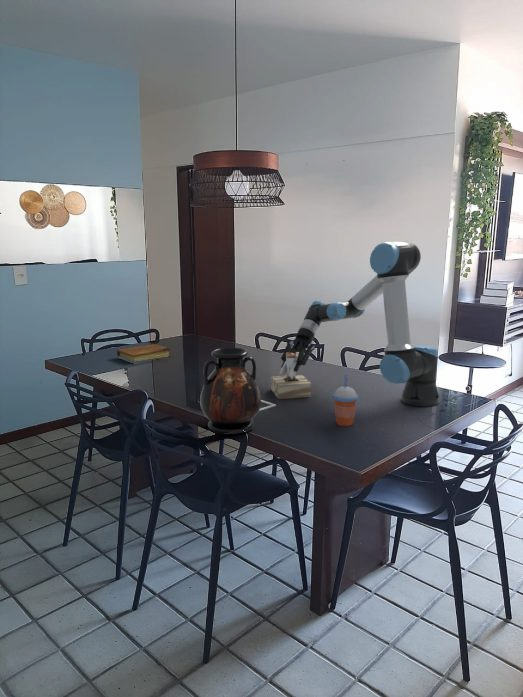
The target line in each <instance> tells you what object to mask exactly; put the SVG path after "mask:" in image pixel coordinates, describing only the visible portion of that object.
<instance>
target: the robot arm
mask: <svg viewBox="0 0 523 697" xmlns="http://www.w3.org/2000/svg"><path fill="white" fill-rule="evenodd" d="M421 258H422V256H421V251H420V249H419V247H418V246H417V245H416V244H415V243H413V242H410V241H386V242H381V243H379V244H377V245H376V246H375V247H374V248H373V250H372V251H371V253H370V257H369V265H370V268H371V269H372V270H373V272H374V273H376V275H375V276H374V277H373V278H372V279H371V280H370V281H368V282H367V283H366V284H365V285H364V286H363V287H362V288H360V290H358V292H356V293H355V294H354V295H353V296H352V297H351V298H350V299H349V300H348V301H341V302H340V301H339V302H332V303H327V304H326V303H325V302H323V301H319V300H315V301H312V303H311V305H310V306H309V308H308V311H307V312H306V314H305V316H304V318H303V320H302V322H301V324H300V326H299V329H298V330H297V333H296V334H295V338H294V339H293V340H292V341H291V340H288V341H287V342H286V346H285V349H284V350H283V352H282V355H281V357H280V359H281V360H282V364H281V366H280V368H281V369H280V371H279V373H278V374H279V376H281V377H284V376H286V353H287V352H295V353H296V354H297V353H298V354H297V355H298V356H297V357H296V358H297V359H296V363H294V364H293V366H292V369H291V371H290V373H289V375H288V376H289V377H290V378H291V379H292V378H293V376H294V374H295V375H296V373H297V372H298V371H299V369H300V367H301V366H306V365H307V362H308V360H309V358H310V356H311V354H312V352H313V351H314V350H315V349H316V347H315V345H314V343H312V342H313V341H314V338H315V335H316V334H317V332H318V330H319V328H320V325H321V324H322V323H326V322H333V321H334V322H335V321H339V320H340V321H342V320H345V319H354V318H358V317H362V315H364V313H365V309H366V308H367V307H369V306H370V305H371V304H372V303H373V302H374V301H376V300H377V299H378V298H379V297H380V296H382V297H383V298H382V299H383V308H384V320H385V330H386V339H387V345H386V346H385V348H384V350H383V351H384V356H383V357H382V358H381V360H380V362H379V371H380V373H381V376H382V377H383V378H384V379H385V380H386V381H387V382H389V384H390V383H391V384H395V385H396V384H397V385H399V384H404V386H403V389H402V392H401V393H400V401H401V402H402V403H404V404H407V405H410V406H417V407H433V406H436V405H439V403H440V393H439V390H438V388H437V370H438V368H437V367H438V359H439V357H438V349H437V348H436V347H433V346H429V345H421V344H413V343H412V342H411V334H410V332H411V331H410V322H409V311H408V310H409V309H408V300H407V286H406V280H407V278H408V277H409V275H410V274H412V272H414V271H415V270H416V269H417V268H418V266H419V264H420V263H421Z"/></svg>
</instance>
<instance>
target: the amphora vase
mask: <svg viewBox="0 0 523 697" xmlns="http://www.w3.org/2000/svg"><path fill="white" fill-rule="evenodd" d="M210 354H211V356H212V357H213V358H215V359H216V361H215V360H213V359H210V360H208V361H206V362H205V363H204V366H203V372H202V374H203V386H202V387H201V388H202V389H201V391H200V395H199V396H200V397H199V404H200V405H199V406H200V408H201V411H202V413H203V415H204V416H205V418H207V420H209V421H208V423H207V427H208V429H209V430H210V431H211V432H213V433H216V434H219V435H224V433H229V432H231V431H235V430H244V431H246V432H245V433H249V431H251V430H252V429H253V428H254V427H255V422H254V418H255V417H256V416H257V415H258V413H259V412H260V411H259V409H261V408H262V407H261V404H262V402H261V400H262V396H261V390H260V388H259V386H258V384H257V365H256V364H257V363H256V361H255V359H254V357H252V356H248V355H249V351H248V350H247V349H245V348H240V347H221V348H216V349H214V350H212V351H211V353H210ZM248 361H250V363H251V367H252V368H251V373H250V372H249V371H248V370H247V369H246V363H247V362H248ZM210 365H214V369H213V371H212V372H211V373H210V374H209V375H208V370H209V367H210Z"/></svg>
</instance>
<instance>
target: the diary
mask: <svg viewBox="0 0 523 697" xmlns="http://www.w3.org/2000/svg"><path fill="white" fill-rule="evenodd" d="M170 351H171V348H170V347H166V346H163V345H159V344H156V343H150V344H145V345H138V346H133V347H126V348H122V349H121V348H120V349H117V350H116V356H120V357H123V358H126V359H129V360H131V361H134V362H136V361H142V360H148V359H154V358H161V357H168V356H170Z"/></svg>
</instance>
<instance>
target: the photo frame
mask: <svg viewBox="0 0 523 697" xmlns="http://www.w3.org/2000/svg"><path fill="white" fill-rule="evenodd" d="M261 403H262V404H263V403H264V404H266V405H267V406H265V407H260V409H259V412H261V411H264V410H267V409H271V408H274V407H276V406H277V404H276V403H275V404H274V403H272V402H269V401H266V400H262V399H261Z"/></svg>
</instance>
